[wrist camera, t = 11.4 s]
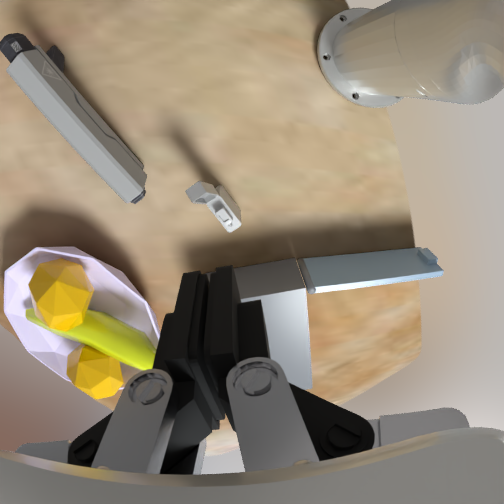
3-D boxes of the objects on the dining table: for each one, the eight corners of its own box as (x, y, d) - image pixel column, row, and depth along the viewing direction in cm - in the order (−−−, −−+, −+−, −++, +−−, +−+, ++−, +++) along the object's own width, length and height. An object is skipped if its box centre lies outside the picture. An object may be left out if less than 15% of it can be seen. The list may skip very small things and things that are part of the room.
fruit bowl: (19, 326, 45) (-8, 368, 35) (33, 198, 35) (-15, 232, 25) (150, 388, 53) (140, 438, 43) (211, 283, 43) (206, 342, 33)
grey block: (294, 257, 41) (307, 292, 34) (304, 362, 51) (313, 397, 44) (204, 273, 42) (200, 309, 35) (235, 373, 51) (236, 410, 44)
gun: (41, 26, 23) (1, 29, 16) (156, 160, 39) (147, 196, 31) (28, 41, 24) (-14, 48, 16) (141, 171, 39) (130, 209, 32)
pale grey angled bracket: (241, 211, 38) (243, 239, 31) (229, 218, 38) (228, 249, 31) (205, 164, 35) (198, 182, 28) (193, 172, 35) (183, 193, 28)
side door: (297, 253, 41) (307, 281, 35) (421, 242, 41) (444, 265, 35) (297, 265, 41) (307, 294, 36) (419, 252, 42) (442, 276, 36)
